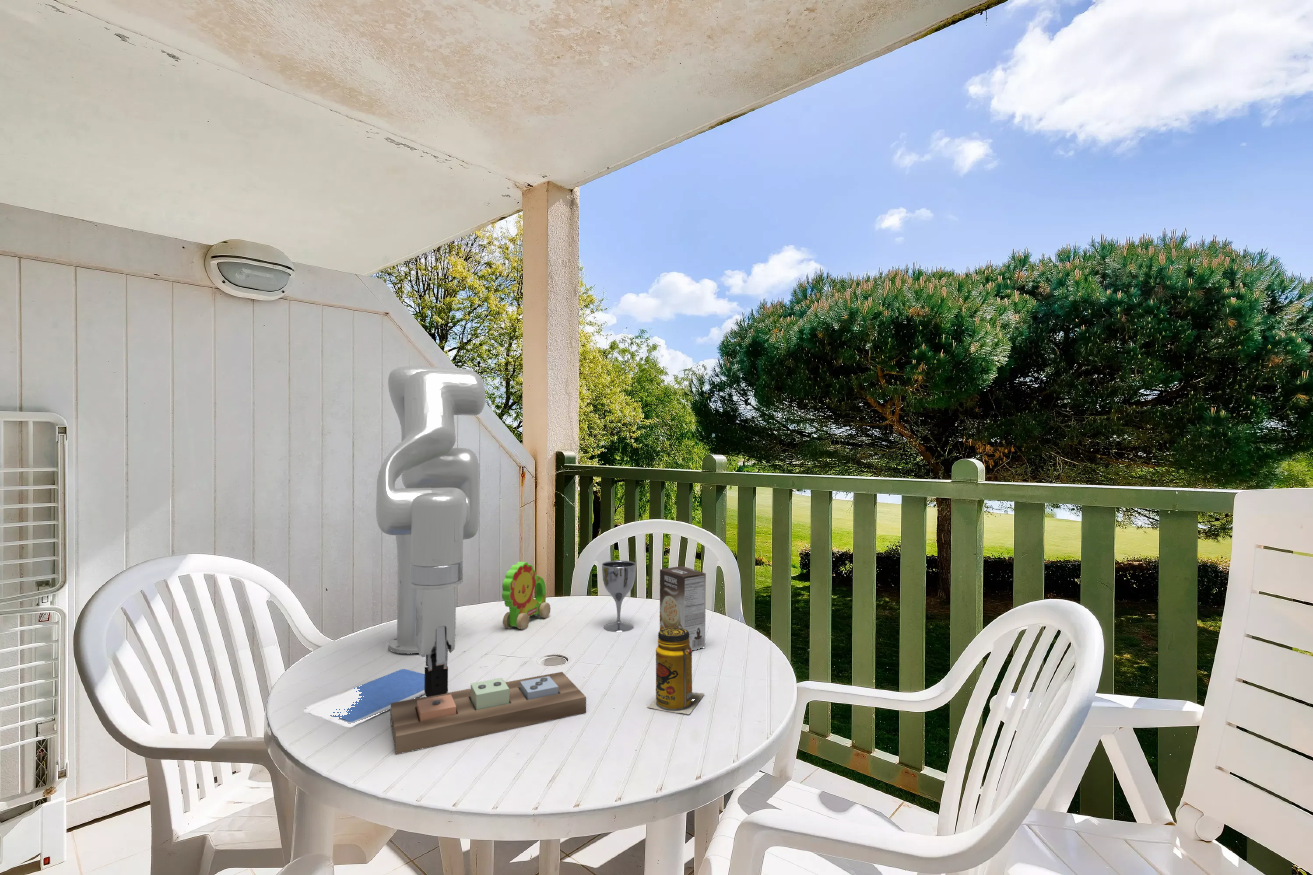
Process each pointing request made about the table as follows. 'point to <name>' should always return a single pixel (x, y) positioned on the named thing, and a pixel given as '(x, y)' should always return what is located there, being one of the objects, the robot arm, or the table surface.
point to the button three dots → (538, 688)
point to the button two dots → (489, 693)
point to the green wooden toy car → (523, 596)
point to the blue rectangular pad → (385, 694)
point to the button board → (483, 715)
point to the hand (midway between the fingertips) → (436, 692)
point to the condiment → (674, 672)
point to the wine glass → (618, 588)
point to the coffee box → (684, 602)
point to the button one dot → (435, 707)
